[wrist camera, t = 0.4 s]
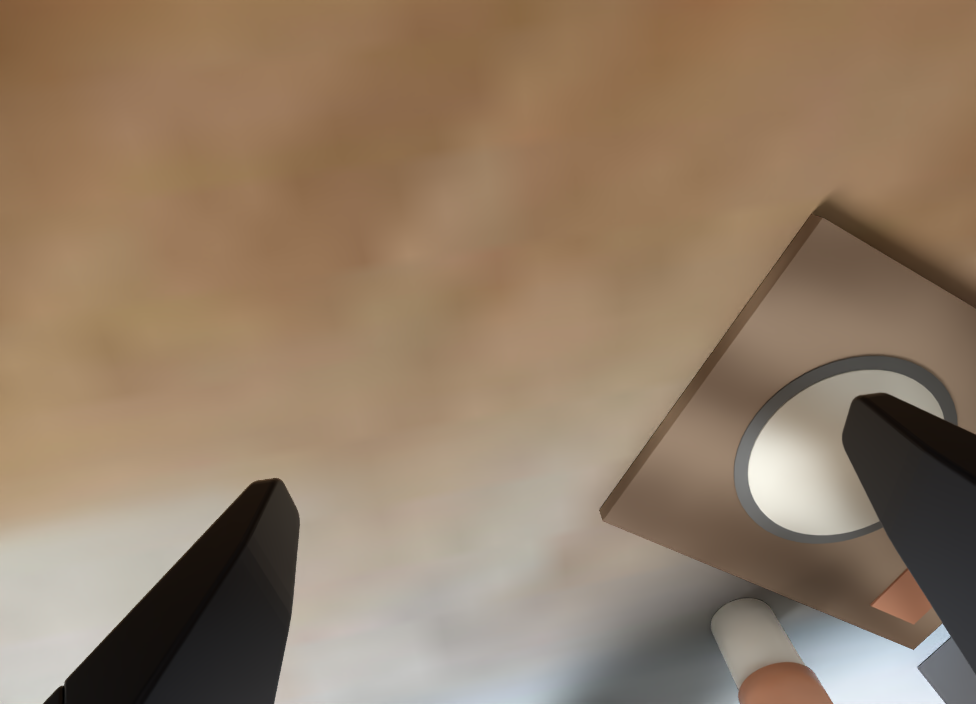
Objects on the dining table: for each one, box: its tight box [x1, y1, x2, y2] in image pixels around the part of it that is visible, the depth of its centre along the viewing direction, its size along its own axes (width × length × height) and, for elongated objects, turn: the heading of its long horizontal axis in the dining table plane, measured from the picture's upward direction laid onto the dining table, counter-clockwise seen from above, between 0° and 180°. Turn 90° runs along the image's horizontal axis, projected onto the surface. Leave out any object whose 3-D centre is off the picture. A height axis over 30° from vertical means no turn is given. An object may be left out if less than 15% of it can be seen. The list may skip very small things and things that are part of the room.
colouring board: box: [599, 214, 976, 650], centre depth 27 cm, size 16×20×1 cm
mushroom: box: [711, 598, 833, 704], centre depth 29 cm, size 4×4×6 cm
